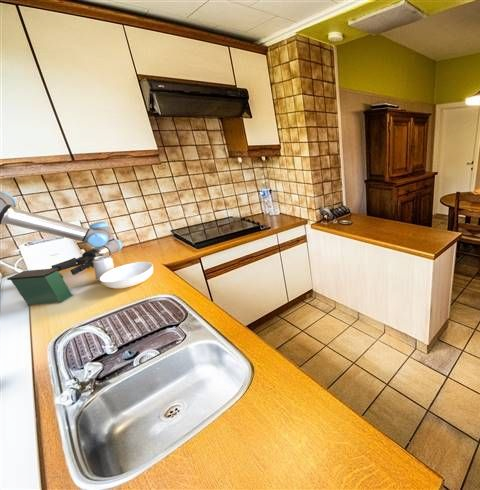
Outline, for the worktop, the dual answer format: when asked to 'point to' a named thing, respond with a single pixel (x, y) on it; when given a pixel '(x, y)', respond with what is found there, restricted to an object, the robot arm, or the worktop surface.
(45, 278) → the box
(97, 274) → the can
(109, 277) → the serving bowl
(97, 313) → the worktop surface
